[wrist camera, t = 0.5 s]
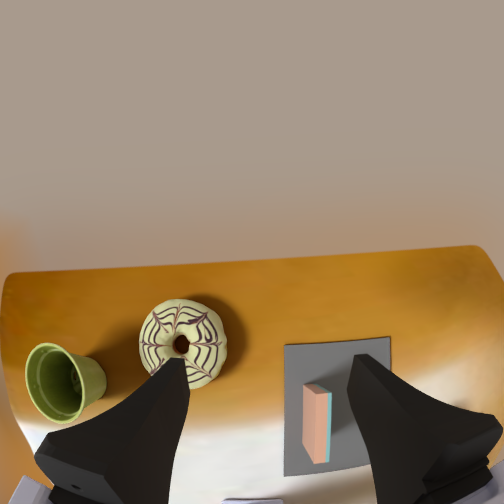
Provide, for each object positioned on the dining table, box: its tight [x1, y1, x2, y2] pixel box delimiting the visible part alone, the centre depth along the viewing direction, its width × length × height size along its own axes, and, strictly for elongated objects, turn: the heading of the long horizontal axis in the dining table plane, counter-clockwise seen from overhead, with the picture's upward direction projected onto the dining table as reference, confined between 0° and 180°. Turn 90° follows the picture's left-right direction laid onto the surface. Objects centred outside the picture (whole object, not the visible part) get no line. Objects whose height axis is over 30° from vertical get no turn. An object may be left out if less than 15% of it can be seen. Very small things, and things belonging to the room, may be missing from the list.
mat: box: [284, 337, 390, 477], centre depth 31 cm, size 18×14×1 cm
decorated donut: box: [139, 299, 227, 389], centre depth 32 cm, size 10×11×4 cm
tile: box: [302, 384, 332, 464], centre depth 28 cm, size 8×2×7 cm, turn 1°
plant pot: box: [25, 343, 107, 424], centre depth 28 cm, size 9×9×9 cm
